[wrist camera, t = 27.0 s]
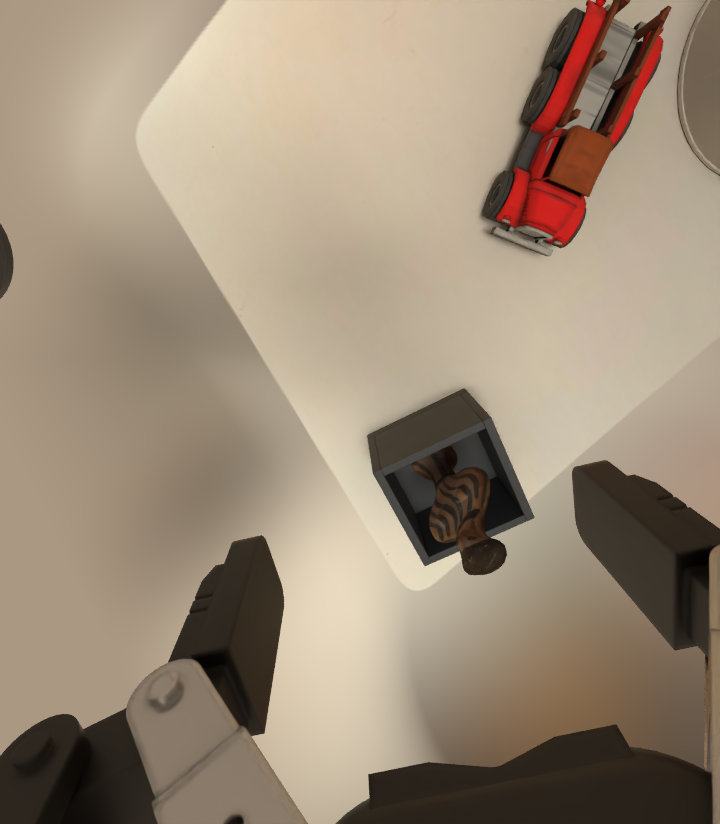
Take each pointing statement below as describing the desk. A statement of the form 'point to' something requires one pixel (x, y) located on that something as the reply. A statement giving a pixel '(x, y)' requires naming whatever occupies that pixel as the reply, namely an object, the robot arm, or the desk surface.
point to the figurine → (461, 510)
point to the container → (702, 86)
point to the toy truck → (574, 123)
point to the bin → (475, 447)
